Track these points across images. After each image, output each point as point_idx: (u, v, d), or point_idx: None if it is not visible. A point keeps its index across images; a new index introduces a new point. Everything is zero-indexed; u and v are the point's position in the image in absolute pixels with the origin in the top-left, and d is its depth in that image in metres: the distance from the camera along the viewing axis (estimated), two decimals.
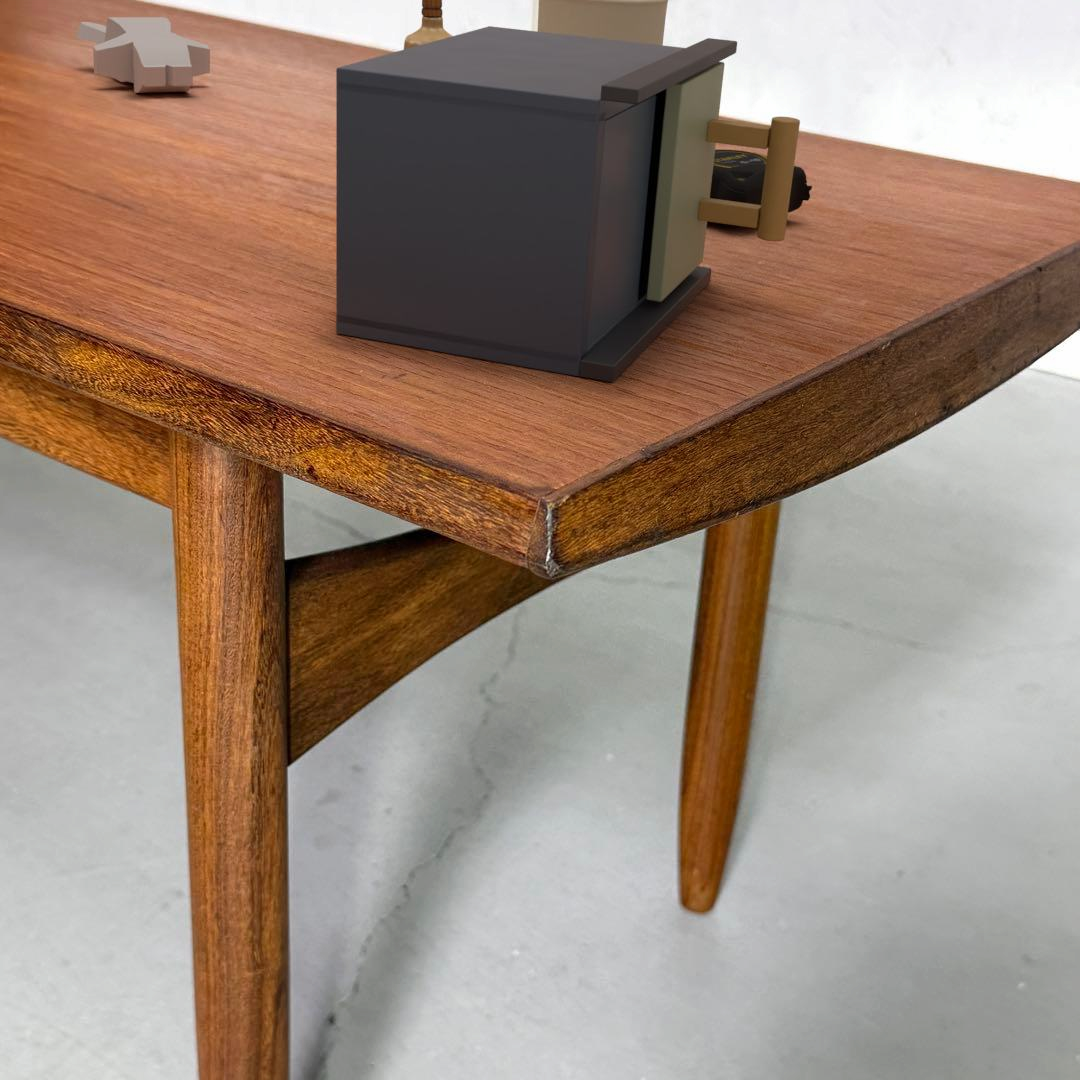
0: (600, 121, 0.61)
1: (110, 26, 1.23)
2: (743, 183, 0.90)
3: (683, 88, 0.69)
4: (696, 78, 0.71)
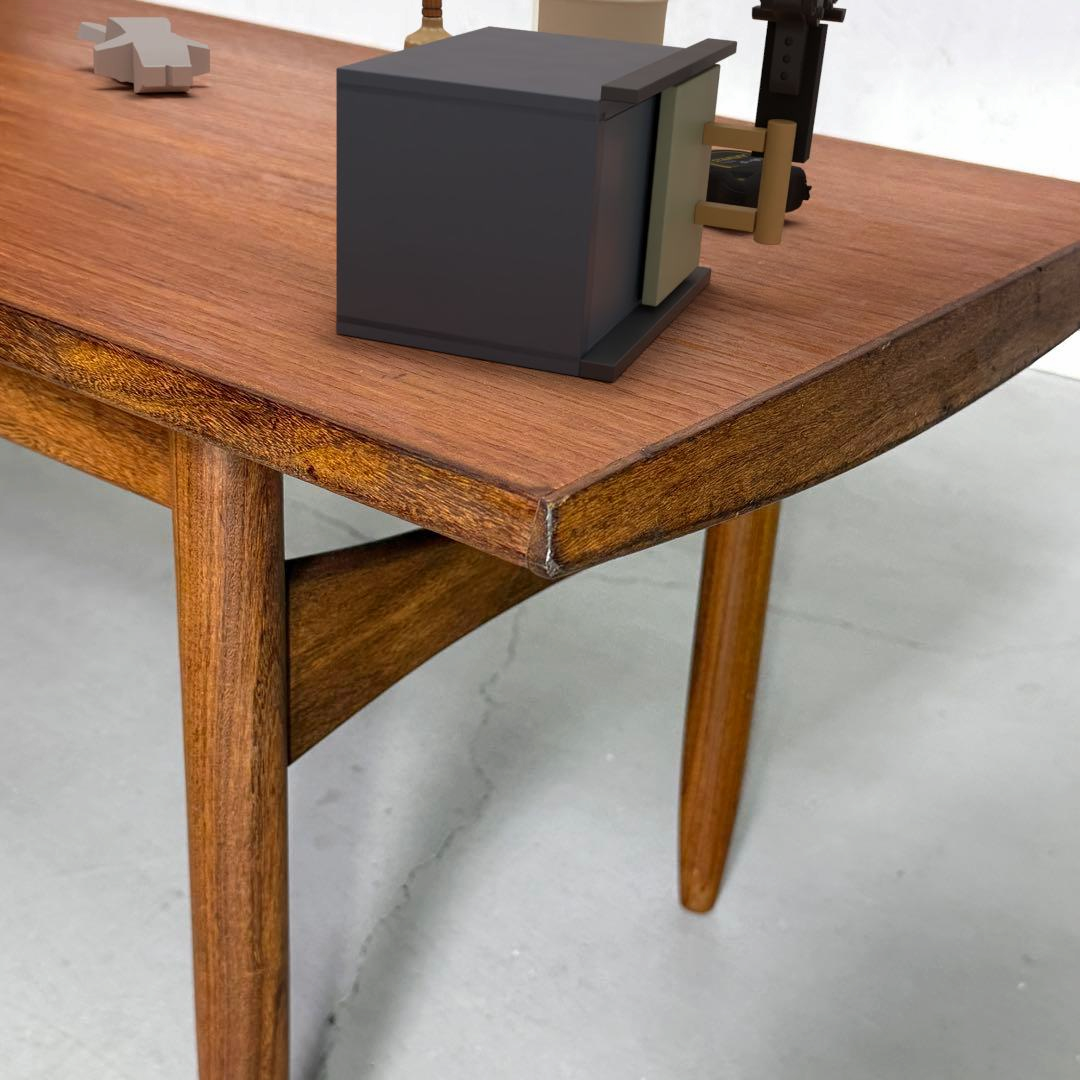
0: (600, 121, 0.61)
1: (110, 26, 1.23)
2: (743, 183, 0.90)
3: (678, 91, 0.68)
4: (691, 80, 0.70)
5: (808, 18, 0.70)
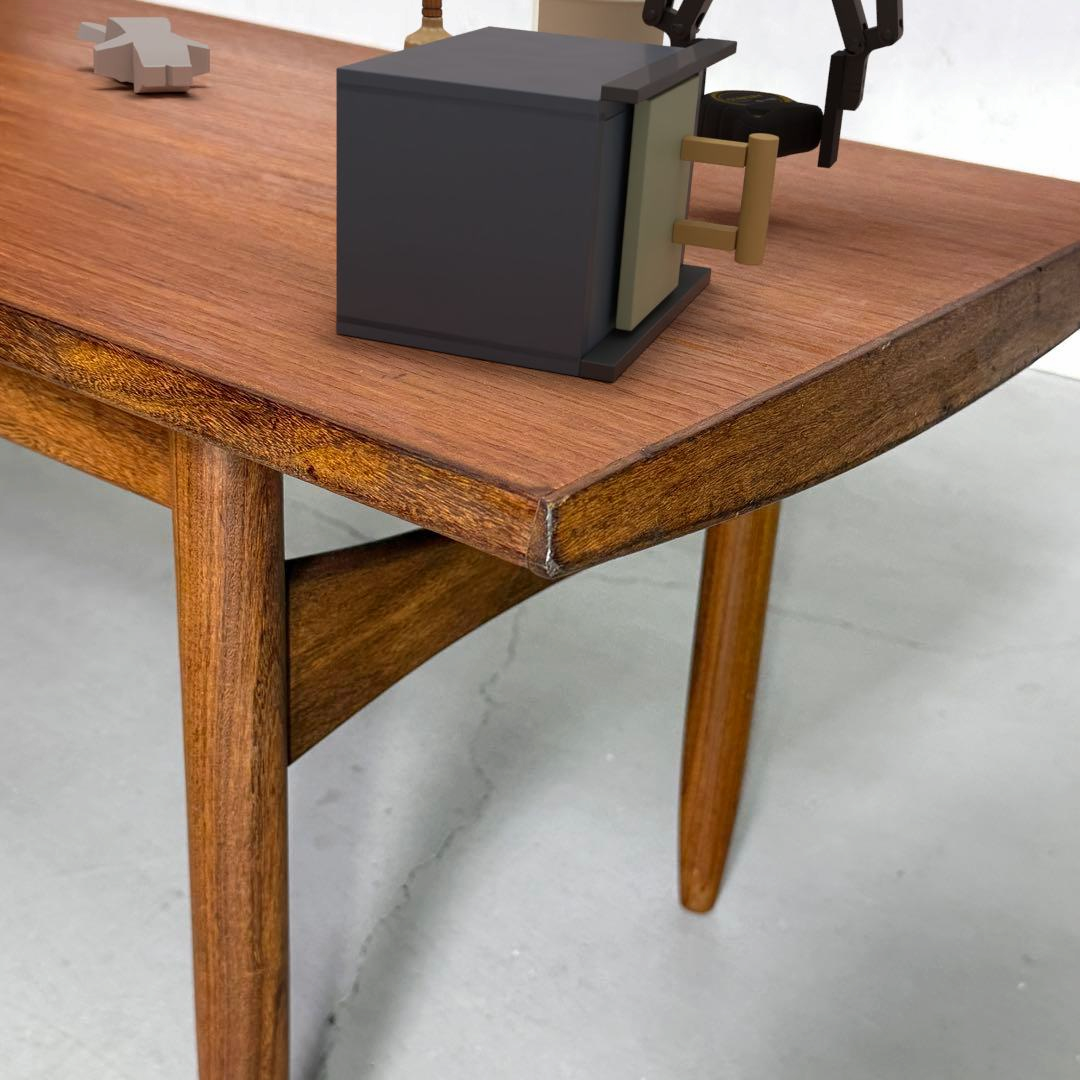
0: (600, 121, 0.61)
1: (110, 26, 1.23)
2: (760, 120, 0.88)
3: (652, 105, 0.64)
4: (667, 93, 0.66)
5: None
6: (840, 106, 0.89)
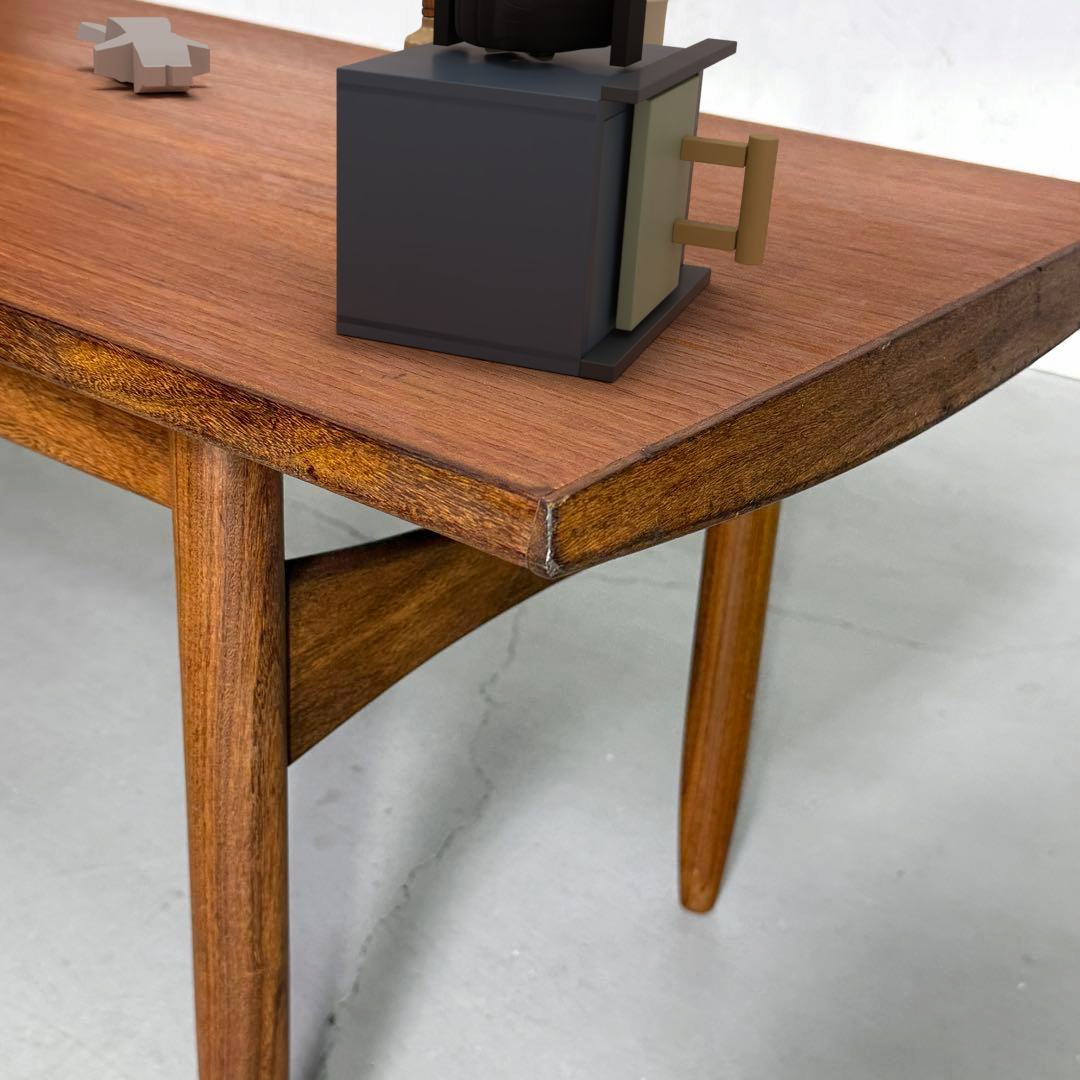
0: (600, 121, 0.61)
1: (110, 26, 1.23)
2: None
3: (652, 105, 0.64)
4: (667, 93, 0.66)
5: None
6: None
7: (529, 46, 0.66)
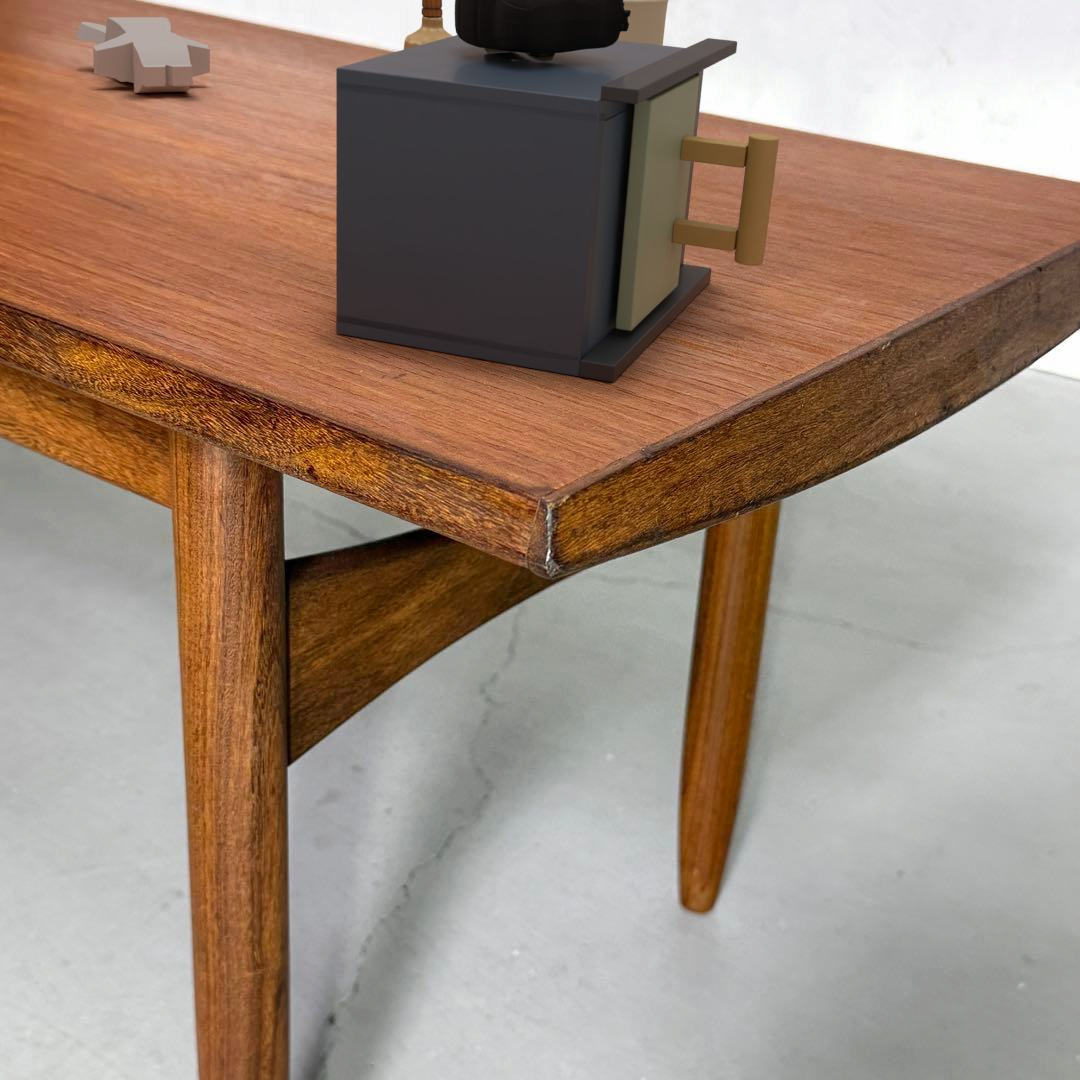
0: (600, 121, 0.61)
1: (110, 26, 1.23)
2: None
3: (652, 105, 0.64)
4: (667, 93, 0.66)
5: None
6: None
7: (529, 46, 0.66)
